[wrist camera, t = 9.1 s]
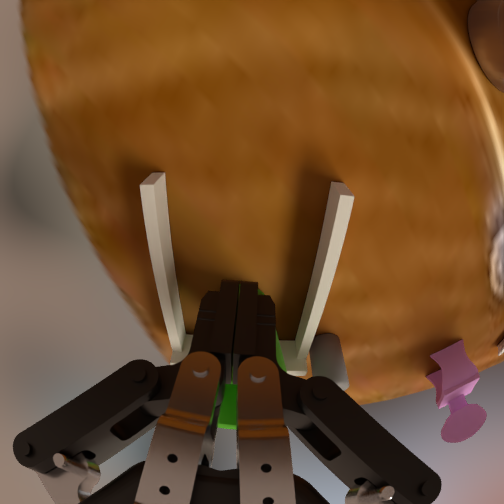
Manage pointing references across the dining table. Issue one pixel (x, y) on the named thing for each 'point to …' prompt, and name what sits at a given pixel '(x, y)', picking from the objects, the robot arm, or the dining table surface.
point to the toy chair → (457, 392)
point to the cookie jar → (501, 348)
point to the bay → (322, 346)
